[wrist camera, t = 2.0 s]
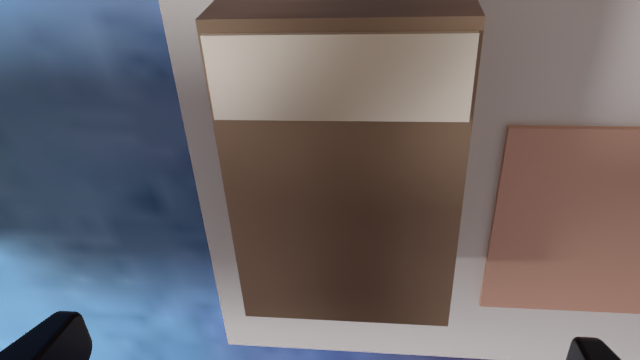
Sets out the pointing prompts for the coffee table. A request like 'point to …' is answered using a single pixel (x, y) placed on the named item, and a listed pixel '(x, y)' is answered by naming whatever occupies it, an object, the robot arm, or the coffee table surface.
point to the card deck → (344, 151)
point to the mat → (492, 192)
